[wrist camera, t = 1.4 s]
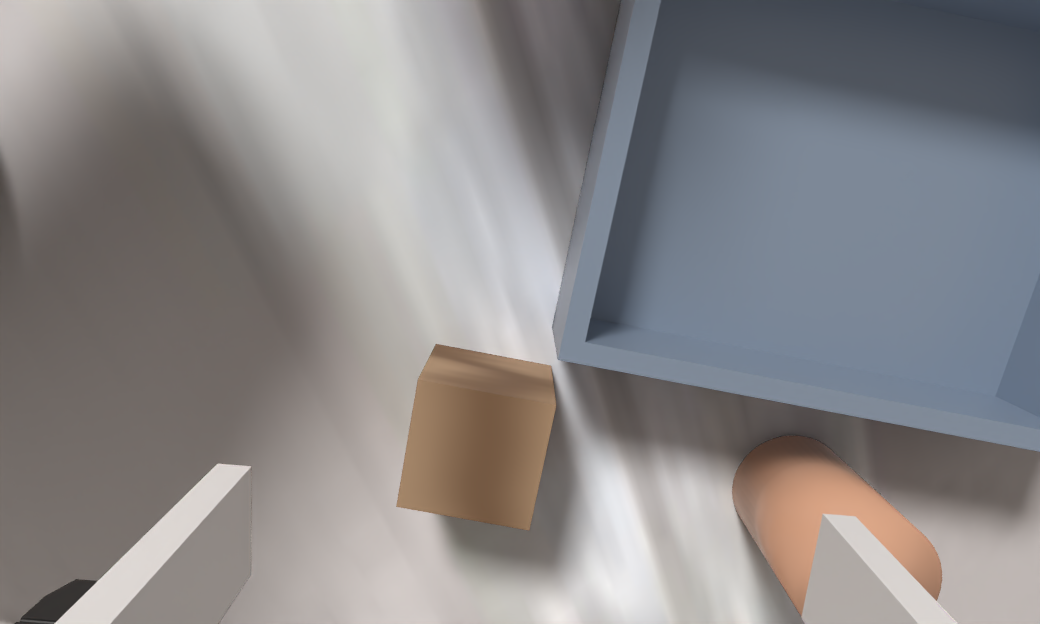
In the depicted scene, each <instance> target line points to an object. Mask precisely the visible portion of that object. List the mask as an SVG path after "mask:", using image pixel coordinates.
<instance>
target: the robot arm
mask: <svg viewBox="0 0 1040 624" xmlns="http://www.w3.org/2000/svg"><path fill="white" fill-rule="evenodd" d="M250 575H251V466H241V465H229V464H217V465H216V466H215V467H214V468H213V469H212V470H211V471H210V472H208V473H207V474H206V475H205V476H204V477H203V478H202V479H201V480H200V481H199V482H198V483H197V484H196V485H195V486H194V487H193V488H192V489H191V490H190V491H189V492H188V493H187V494H186V495H185V496H184V497H183V498H182V499H181V500H180V501H179V502H178V503H177V504H176V505H175V506H174V507H173V508H172V509H171V510H170V511H169V512H168V513H167V514H166V515H165V516H164V517H163V518H162V519H161V520H160V521H159V522H158V523H157V524H155V525H154V526H153V527H152V528H151V529H150V530H149V531H148V532H147V533H146V534H145V535H144V536H143V537H142V538H141V539H140V540H139V541H138V542H137V543H136V544H135V545H134V546H133V547H132V548H131V549H130V550H129V551H128V552H127V553H126V554H125V555H124V556H123V557H122V558H121V559H120V560H119V561H118V562H117V563H116V564H115V565H114V566H113V567H112V568H111V569H110V570H109V571H108V572H107V573H106V574H105V575H103V576H102V577H101V578H100V579H99V580H98V581H91V580H78V579H76V580H74V581H72V582H71V583H69V584H67V585H65V586H63V587H61V588H60V589H58V590H56V591H54V592H52V593H50V594H49V595H47V596H45V597H44V598H43V599H41V600H40V601H39V602H38V603H37V604H36V605H35V606H34V607H33V608H32V609H30V610H29V611H28V612H27V613H26V614H25V615H24V616H23V617H22V618H21V621H20V622H16V623H15V624H219V622H220V621H221V619H222V618H223V616H224V615H225V613H226V612H227V610H228V609H229V607H230V606H231V604H232V603H233V601H234V600H235V598H236V597H237V595H238V593H239V592H240V590H241V589H242V587H243V586H244V584H245V583H246V581H247V580H248V578H249V577H250ZM801 619H802V620H803V622H804V623H805V624H958V623H957V622H956V621H955V620H954V619H953V618H952V617H951V616H950V615H949V614H948V613H947V612H946V611H945V610H944V609H943V607H942V606H941V605H940V604H939V603H938V602H937V601H936V600H935V599H934V598H933V597H932V596H931V595H930V594H929V593H928V592H927V591H926V590H925V589H924V588H923V587H922V585H921V584H920V583H919V582H918V581H917V580H916V579H915V578H914V577H913V576H912V575H911V574H910V573H909V572H908V571H907V570H906V569H905V568H904V567H903V566H902V565H901V563H900V562H899V561H898V560H897V559H896V558H895V557H894V556H893V555H892V554H891V553H890V552H889V551H888V550H887V549H886V548H885V547H884V546H883V545H882V544H881V543H880V541H879V540H878V539H877V538H876V537H875V536H874V535H873V534H872V533H871V532H870V531H869V530H868V529H867V528H866V527H865V526H864V525H863V524H862V523H861V522H860V521H859V519H858V518H857V517H856V516H845V515H833V514H823V515H822V520H821V525H820V529H819V534H818V539H817V544H816V549H815V554H814V559H813V563H812V568H811V573H810V578H809V583H808V588H807V593H806V597H805V602H804V607H803V612H802V617H801Z"/></svg>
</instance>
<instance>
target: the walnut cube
mask: <svg viewBox="0 0 1040 624" xmlns="http://www.w3.org/2000/svg"><path fill="white" fill-rule="evenodd" d="M555 409H556V399H555V391H554V384H553V377H552V369H551V366H550V365H544V364H539V363H534V362H529V361H523V360H518V359H513V358H507V357H502V356H497V355H492V354H486V353H481V352H476V351H470V350H465V349H460V348H455V347H449V346H444V345H439V344H436V345H435V347H434V349H433V351H432V353H431V355H430V357H429V359H428V361H427V363H426V365H425V367H424V369H423V370H422V372H421V374H420V376H419V378H418V382H417V388H416V394H415V399H414V405H413V411H412V417H411V423H410V429H409V435H408V441H407V447H406V453H405V459H404V465H403V471H402V476H401V482H400V488H399V494H398V500H397V506H396V507H401V508H407V509H412V510H418V511H423V512H429V513H434V514H440V515H446V516H451V517H457V518H462V519H468V520H473V521H479V522H484V523H490V524H496V525H501V526H507V527H512V528H518V529H523V530H530V525H531V520H532V516H533V511H534V506H535V502H536V497H537V493H538V488H539V483H540V479H541V474H542V469H543V465H544V460H545V456H546V451H547V446H548V442H549V437H550V432H551V428H552V423H553V419H554V414H555Z"/></svg>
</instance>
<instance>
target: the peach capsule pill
mask: <svg viewBox="0 0 1040 624" xmlns="http://www.w3.org/2000/svg"><path fill="white" fill-rule="evenodd" d="M732 496H733V502H734V506H735V508H736V511H737V513H738V515H739V516H740V518H741V520H742V521H743V523H744V524H745V526H746V528H747V529H748V531H749V533H750V534H751V536H752V537H753V539H754V541H755V542H756V544H757V546H758V547H759V549H760V550H761V552H762V554H763V555H764V557H765V559H766V560H767V562H768V563H769V565H770V567H771V568H772V570H773V572H774V573H775V575H776V576H777V578H778V580H779V581H780V583H781V585H782V586H783V588H784V589H785V591H786V593H787V594H788V596H789V597H790V599H791V601H792V602H793V604H794V606H795V607H796V609H797V610H798V612H799V614H800V615H801V617H802V612H803V607H804V602H805V597H806V593H807V588H808V583H809V578H810V573H811V568H812V563H813V559H814V554H815V549H816V544H817V539H818V534H819V529H820V525H821V520H822V515H823V514H833V515H845V516H856V517H857V518H858V519H859V521H860V522H861V523H862V524H863V525H864V526H865V527H866V528H867V529H868V530H869V531H870V532H871V533H872V534H873V535H874V536H875V537H876V538H877V539H878V540H879V541H880V543H881V544H882V545H883V546H884V547H885V548H886V549H887V550H888V551H889V552H890V553H891V554H892V555H893V556H894V557H895V558H896V559H897V560H898V561H899V562H900V563H901V565H902V566H903V567H904V568H905V569H906V570H907V571H908V572H909V573H910V574H911V575H912V576H913V577H914V578H915V579H916V580H917V581H918V582H919V583H920V584H921V585H922V587H923V588H924V589H925V590H926V591H927V592H928V593H929V594H930V595H931V596H932V597H933V598H934V599H935V600H936V601H937V599H938V596H939V593H940V589H941V583H942V569H941V563H940V560H939V557H938V554H937V552H936V550H935V548H934V547H933V545H932V544H931V542H930V541H929V540H928V539H927V538H926V537H925V536H924V535H923V534H922V533H921V532H920V531H919V530H918V529H917V528H916V527H915V526H914V525H912V524H911V523H910V522H909V521H908V520H907V519H906V518H905V517H904V516H903V515H902V514H900V513H899V512H898V511H897V510H896V509H895V508H894V507H893V506H892V505H891V504H890V503H888V502H887V501H886V500H885V499H884V498H883V497H882V496H881V495H880V494H879V493H878V492H876V491H875V490H874V489H873V488H872V487H871V486H870V485H869V484H868V483H867V482H866V481H864V480H863V479H862V478H861V477H860V476H859V475H858V474H857V473H856V472H855V471H854V470H852V469H851V468H850V467H849V466H848V465H847V464H846V463H845V462H844V461H843V460H842V459H840V458H839V457H838V456H837V455H836V454H835V453H834V452H833V451H832V450H831V449H829V448H828V447H827V446H826V445H824V444H823V443H821V442H819V441H817V440H814V439H812V438H808V437H804V436H782V437H778V438H774V439H771V440H769V441H766V442H765V443H763V444H761V445H759V446H758V447H756V448H755V449H754V450H752V451H751V452H750V453H749V454H748V455H747V456H746V457H745V458H744V460H743V461H742V463H741V464H740V466H739V467H738V469H737V471H736V474H735V477H734V481H733V487H732Z"/></svg>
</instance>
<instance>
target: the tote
mask: <svg viewBox="0 0 1040 624" xmlns="http://www.w3.org/2000/svg"><path fill="white" fill-rule="evenodd" d="M552 328H553V334H554V340H555V346H556V352H557V358H558V360H561V361H566V362H572V363H577V364H582V365H587V366H593V367H598V368H603V369H608V370H614V371H619V372H624V373H629V374H635V375H640V376H645V377H650V378H656V379H661V380H666V381H671V382H677V383H682V384H687V385H692V386H698V387H703V388H708V389H713V390H718V391H724V392H729V393H734V394H739V395H745V396H750V397H755V398H760V399H766V400H771V401H776V402H781V403H787V404H792V405H797V406H802V407H808V408H813V409H818V410H823V411H829V412H834V413H839V414H844V415H850V416H855V417H860V418H865V419H871V420H876V421H881V422H886V423H892V424H897V425H902V426H907V427H913V428H918V429H923V430H928V431H934V432H939V433H944V434H949V435H955V436H960V437H965V438H970V439H976V440H981V441H986V442H991V443H997V444H1002V445H1007V446H1012V447H1018V448H1023V449H1028V450H1033V451H1039V452H1040V0H621V3H620V8H619V13H618V17H617V22H616V27H615V32H614V36H613V41H612V46H611V51H610V55H609V60H608V65H607V70H606V74H605V79H604V84H603V89H602V93H601V98H600V103H599V108H598V112H597V117H596V122H595V126H594V131H593V136H592V141H591V145H590V150H589V155H588V160H587V164H586V169H585V174H584V179H583V183H582V188H581V193H580V198H579V202H578V207H577V212H576V217H575V221H574V226H573V231H572V236H571V240H570V245H569V250H568V255H567V259H566V264H565V269H564V274H563V278H562V283H561V288H560V293H559V297H558V302H557V307H556V312H555V316H554V321H553V326H552Z"/></svg>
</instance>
